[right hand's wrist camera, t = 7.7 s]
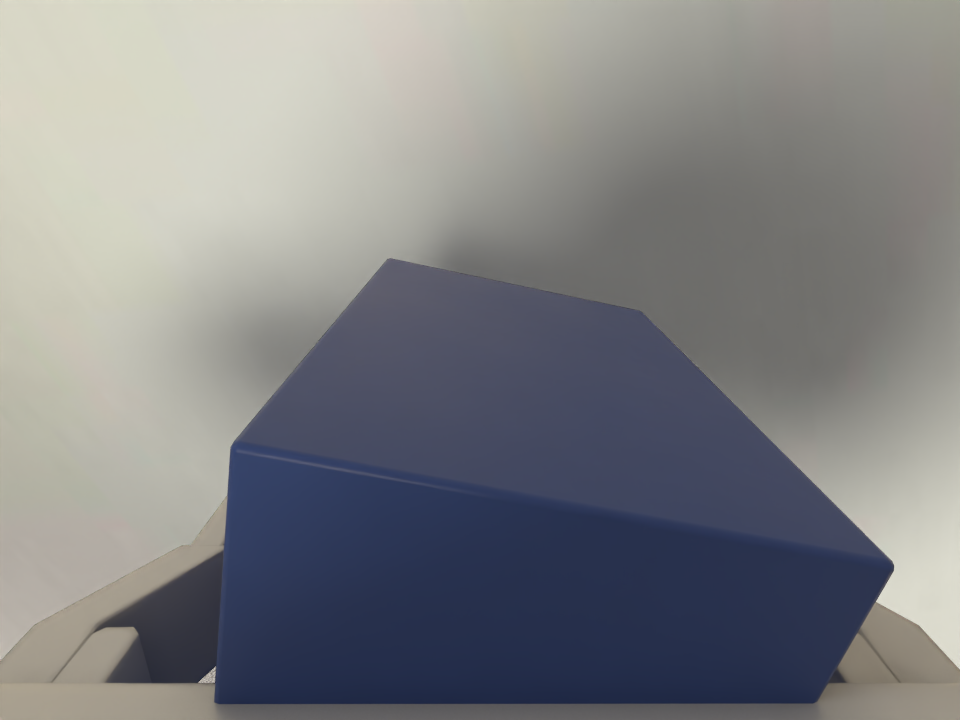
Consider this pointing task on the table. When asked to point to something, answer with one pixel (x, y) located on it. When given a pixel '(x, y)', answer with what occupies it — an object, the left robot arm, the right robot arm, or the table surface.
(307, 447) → the bar
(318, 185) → the table surface
